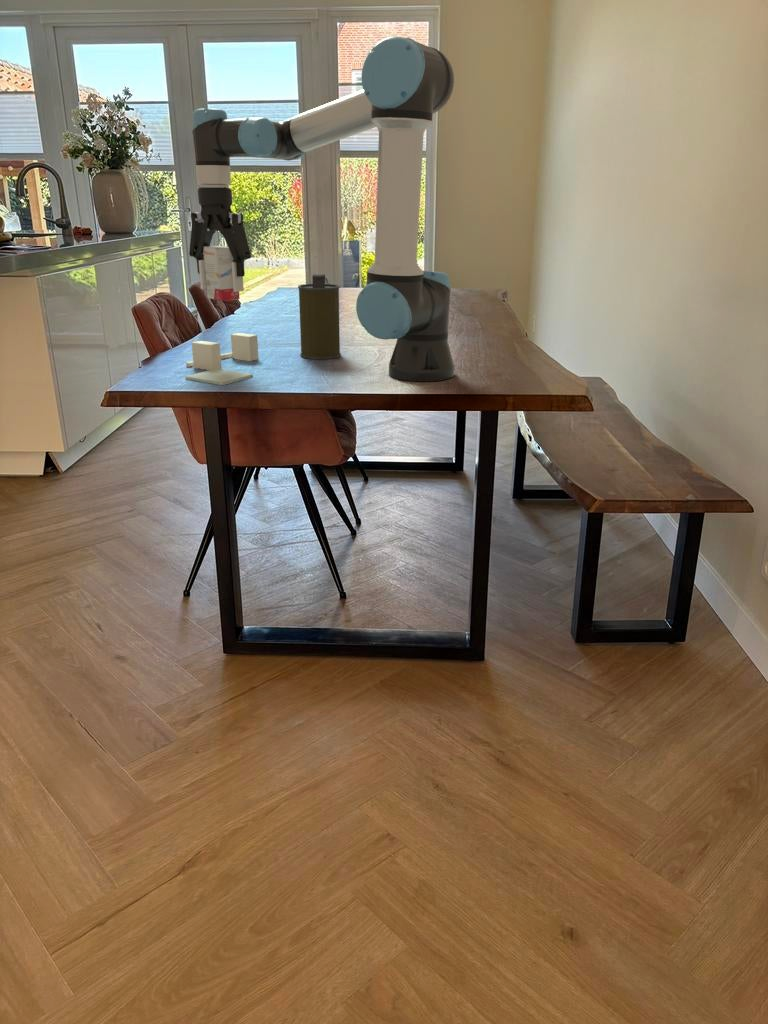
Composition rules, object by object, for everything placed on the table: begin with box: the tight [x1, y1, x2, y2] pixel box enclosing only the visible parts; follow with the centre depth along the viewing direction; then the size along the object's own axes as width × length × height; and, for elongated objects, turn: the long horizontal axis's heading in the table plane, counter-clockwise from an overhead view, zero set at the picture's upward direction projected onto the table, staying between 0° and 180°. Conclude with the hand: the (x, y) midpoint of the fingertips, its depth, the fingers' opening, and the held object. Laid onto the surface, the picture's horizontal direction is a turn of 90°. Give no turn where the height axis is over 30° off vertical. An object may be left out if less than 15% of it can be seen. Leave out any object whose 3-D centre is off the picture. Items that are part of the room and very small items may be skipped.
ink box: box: [203, 245, 241, 302], centre depth 178 cm, size 9×5×12 cm, turn 34°
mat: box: [185, 369, 254, 386], centre depth 172 cm, size 11×10×1 cm
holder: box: [185, 332, 259, 371], centre depth 186 cm, size 8×16×6 cm, turn 149°
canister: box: [297, 273, 342, 360], centre depth 193 cm, size 11×10×20 cm
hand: (222, 289), depth 180 cm, fingers closed on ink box, 10 cm apart
